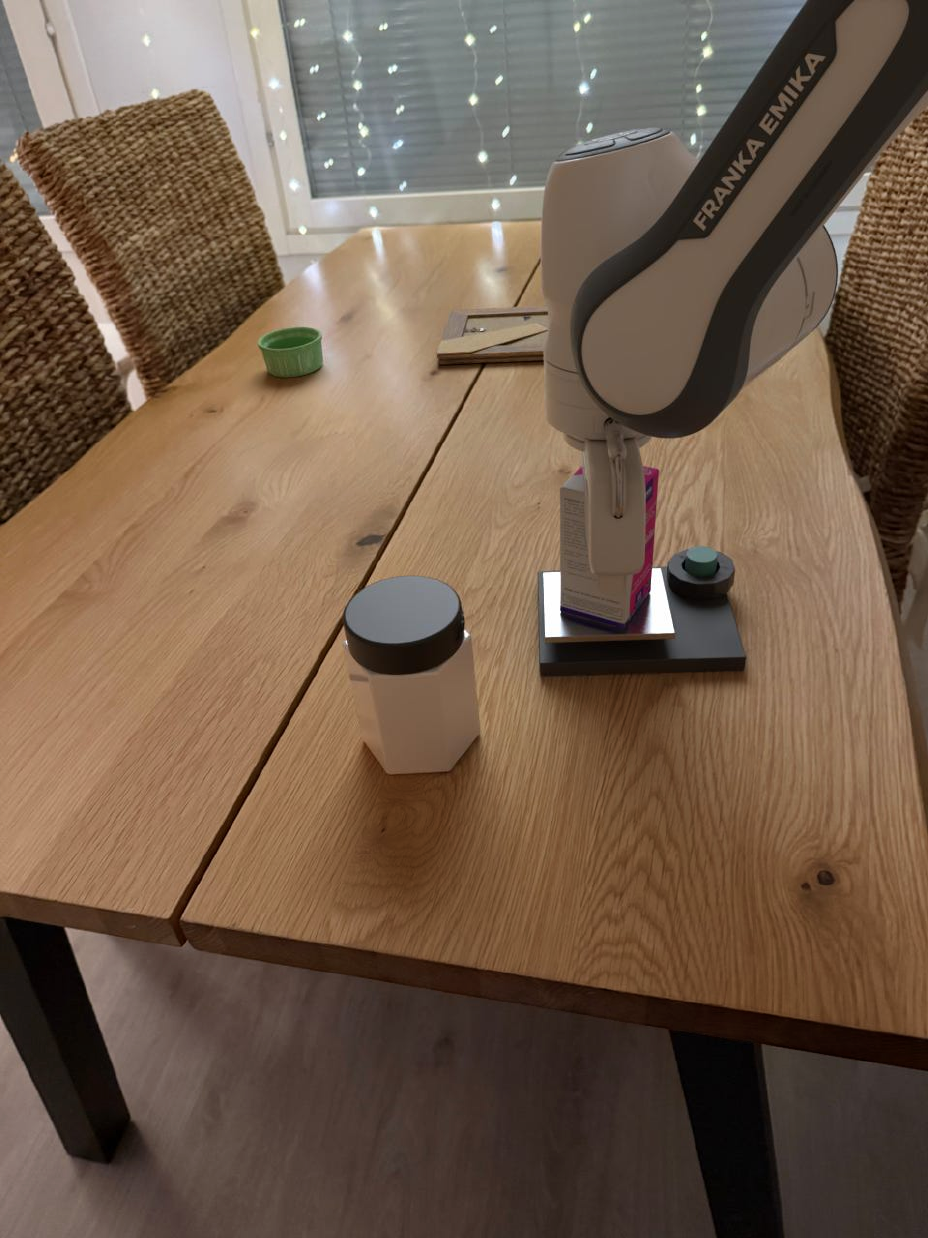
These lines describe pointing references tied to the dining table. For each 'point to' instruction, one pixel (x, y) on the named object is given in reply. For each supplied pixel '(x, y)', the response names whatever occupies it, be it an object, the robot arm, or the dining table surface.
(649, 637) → the scale pan
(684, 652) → the scale
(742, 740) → the dining table surface
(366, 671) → the jar
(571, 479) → the supplement box
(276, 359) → the ramekin
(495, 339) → the picture frame
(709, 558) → the tare button
